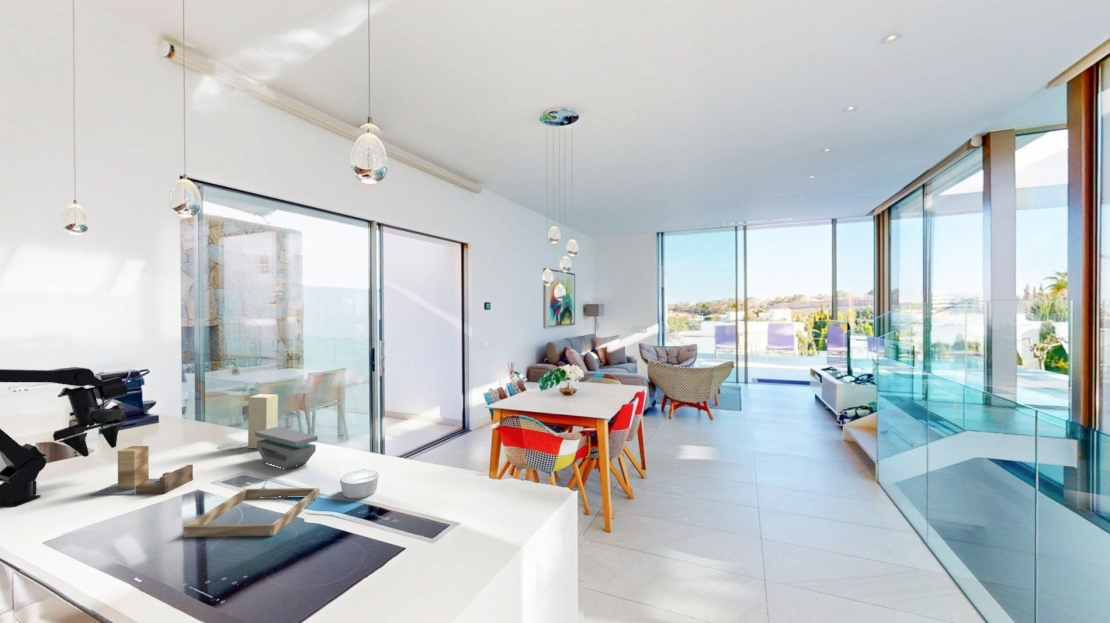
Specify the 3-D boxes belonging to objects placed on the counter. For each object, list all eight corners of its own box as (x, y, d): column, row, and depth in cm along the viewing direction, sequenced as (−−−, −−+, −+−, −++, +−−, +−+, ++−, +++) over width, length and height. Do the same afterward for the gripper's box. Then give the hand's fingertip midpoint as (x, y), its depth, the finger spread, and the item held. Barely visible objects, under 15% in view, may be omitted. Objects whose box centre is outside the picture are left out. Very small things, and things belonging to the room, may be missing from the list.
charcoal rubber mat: (131, 494, 134) (131, 493, 134) (90, 495, 134) (90, 494, 134) (164, 479, 146) (164, 478, 146) (127, 479, 146) (127, 478, 146)
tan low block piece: (164, 493, 135) (164, 477, 135) (135, 494, 135) (135, 477, 135) (192, 479, 146) (192, 464, 146) (166, 480, 146) (166, 464, 146)
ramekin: (364, 502, 130) (364, 484, 130) (331, 498, 132) (331, 481, 132) (386, 487, 141) (386, 470, 141) (355, 484, 143) (355, 468, 143)
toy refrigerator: (279, 444, 184) (279, 393, 184) (266, 449, 177) (266, 397, 176) (261, 443, 185) (261, 393, 184) (247, 449, 177) (247, 397, 177)
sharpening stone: (255, 461, 164) (255, 432, 164) (276, 455, 171) (276, 426, 171) (296, 473, 152) (295, 442, 152) (317, 466, 159) (317, 436, 159)
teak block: (134, 489, 138) (134, 450, 138) (118, 489, 137) (117, 451, 137) (148, 482, 143) (148, 445, 143) (132, 483, 142) (132, 446, 142)
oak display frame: (274, 535, 111) (273, 525, 111) (183, 536, 110) (183, 526, 110) (319, 496, 134) (319, 488, 134) (245, 497, 133) (245, 488, 133)
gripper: (81, 403, 133) (98, 452, 133) (136, 392, 152) (150, 435, 152) (43, 415, 132) (60, 464, 132) (102, 402, 151) (117, 446, 151)
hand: (100, 451), depth 142 cm, fingers open, 9 cm apart
